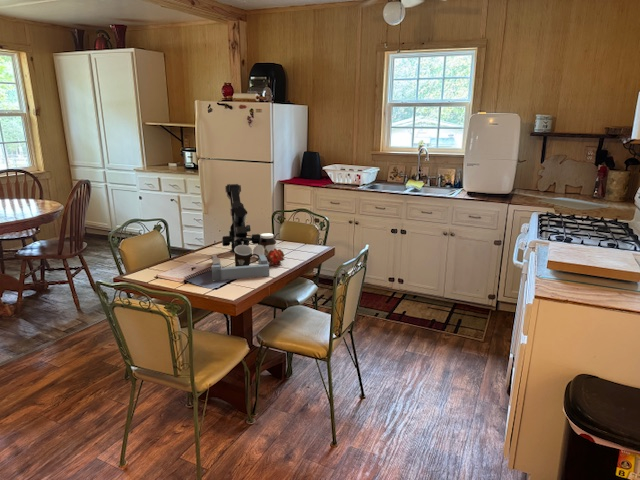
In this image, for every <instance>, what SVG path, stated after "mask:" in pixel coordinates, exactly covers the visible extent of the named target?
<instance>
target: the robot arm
mask: <svg viewBox="0 0 640 480" xmlns="http://www.w3.org/2000/svg"><path fill="white" fill-rule="evenodd" d="M224 188H225V189H224V190H225V194H226V197H227V198H228V199H229V201H230V202H229V203H230V217H231V222H232V223H231V225H230V228H229V231H228V235H223V236H222V239H221V240H222V241H221V244H222V246H223V247H229V246H231V250H229V252H230V253H234V248H235V247H236V246H238V245H247V246H249V247H250V242H251V244H253V245H258V244H259V243H260V239H261V234H259V233H257V234H256V233H252V234H251V236H248V232H249V233H250V232H251V231H252V230H251V225H250V224H246V217H247V214H248V211H247V210H246V208H245V205H244V204H243V203H242V202H241V197H240V194H241V192H242V186H241V184H239V183H232V184H231V183H227V184H226V185H225V187H224ZM247 236H248V237H247Z"/></svg>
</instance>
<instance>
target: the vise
mask: <svg viewBox="0 0 640 480" xmlns="http://www.w3.org/2000/svg"><path fill="white" fill-rule="evenodd" d="M257 262H258V264H253V265H252V264H249V266H237V267H235V266H227V267H225V266H224V267H222V264H221V265H213V264H212V265H211V281H212V280H218V281H224V280H223V279H230V280H239V279H251V278H263V277H269V276H270V264H269V262H268V260H267V257H265V255H259V260H258V261H257Z"/></svg>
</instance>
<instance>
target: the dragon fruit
mask: <svg viewBox="0 0 640 480" xmlns="http://www.w3.org/2000/svg"><path fill="white" fill-rule="evenodd" d="M284 257H285V254H284V251H283V250H282V249H280V248H277V250H276V249H274V250H271V251H270V252H269V253H268V254H267V257H266V258H267V260H268V264H269V266H274V265H279V266H280V264H281V262H283V261H285V259H286V258H284Z"/></svg>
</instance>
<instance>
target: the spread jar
mask: <svg viewBox="0 0 640 480" xmlns="http://www.w3.org/2000/svg"><path fill="white" fill-rule="evenodd" d="M260 237H261V239H260V243H259V244H256V245H255V246H254V247H253V248H252V254H257V255H265V257H266V258H267V254H268V253H269V252H270V251H271V250H274V249H276V250H278V242H277V240H276V239H275V237H274V234H273V233H268V232H266V233H260ZM253 257H254V258H255V259H258V256H256V255H253Z"/></svg>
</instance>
